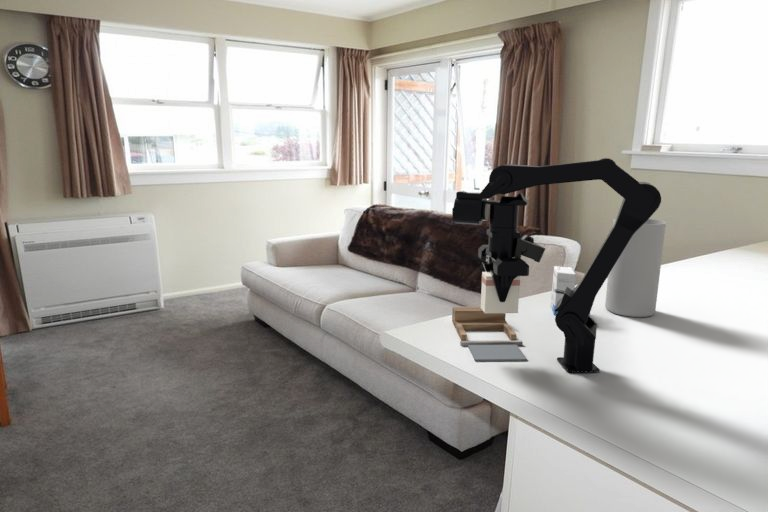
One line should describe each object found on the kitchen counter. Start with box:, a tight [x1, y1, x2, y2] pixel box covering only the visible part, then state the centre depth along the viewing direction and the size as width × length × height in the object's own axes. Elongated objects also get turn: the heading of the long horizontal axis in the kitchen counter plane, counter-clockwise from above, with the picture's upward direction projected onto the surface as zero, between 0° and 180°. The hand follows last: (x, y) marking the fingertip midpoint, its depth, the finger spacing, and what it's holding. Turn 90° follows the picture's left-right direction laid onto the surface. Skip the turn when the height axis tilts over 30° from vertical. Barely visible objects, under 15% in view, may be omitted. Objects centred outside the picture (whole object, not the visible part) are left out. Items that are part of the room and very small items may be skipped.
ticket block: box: [480, 271, 521, 314], centre depth 108 cm, size 4×7×8 cm, turn 92°
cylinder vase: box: [604, 218, 667, 318], centre depth 138 cm, size 12×12×25 cm
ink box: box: [550, 265, 577, 316], centre depth 139 cm, size 8×5×12 cm, turn 168°
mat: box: [467, 345, 528, 362], centre depth 111 cm, size 8×11×1 cm
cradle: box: [451, 305, 524, 347], centre depth 123 cm, size 16×14×4 cm
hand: (499, 298), depth 108 cm, fingers closed on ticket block, 4 cm apart
